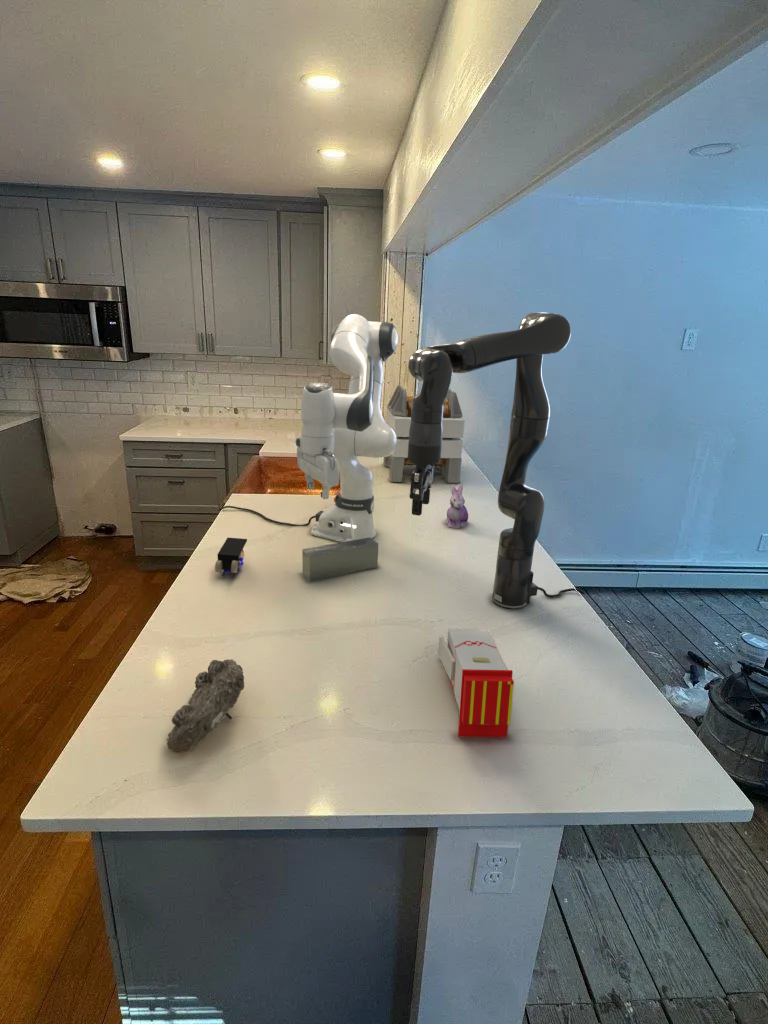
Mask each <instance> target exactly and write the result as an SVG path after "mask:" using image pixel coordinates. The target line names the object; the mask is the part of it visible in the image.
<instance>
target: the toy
mask: <svg viewBox="0 0 768 1024" xmlns="http://www.w3.org/2000/svg"><path fill="white" fill-rule="evenodd" d="M446 640H447V643H446V641H445V639H444V636H443V635H442V634H439V637H438V646H437V656H438V657H439V659H440V661H441V663H442V666H443V668H444V670H445V672H446V674H447V677H448V679H449V681H450V684H451V687H452V690H453V693H454V697H455V701H456V705H457V708H458V711H459V714H458V715H459V716H458V730H457V731H458V732H457V737H458V738H508V731H509V726H510V725H511V717H512V707H513V697H514V696H513V695H514V684H515V680H514V679H513V673H514V671H513V670H512V669H508V667H507V665H506V662H505V661H504V659H503V658H502V655H501V653H500V651H499V649H498V647H497V643H496V639H495V637H494V635H493V634H491V632H490V631H489V629H467V628H466V629H465V628H463V629H461V628H460V629H459V628H448V630H447V639H446Z"/></svg>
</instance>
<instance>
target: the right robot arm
mask: <svg viewBox="0 0 768 1024" xmlns="http://www.w3.org/2000/svg"><path fill="white" fill-rule="evenodd" d="M571 335H572V326H571V323H570V321H569V320H568V319H567V317H565V316H564V315H562V314H559V313H556V312H541V311H540V312H539V311H537V312H535V311H534V312H530V313H527V314H526V315H525V316H524V317H523V318H522V319H521V321H520V323H519V326H518V329H513V330H509V331H508V330H507V331H501V332H493V333H485V334H479V335H476V336H475V335H474V336H472V337H468V338H465V339H461V340H458V341H455V342H450V343H442V344H437V345H430V346H424V347H421V348H419V349H416V351H414V352H413V353H412V354H411V356H410V357H409V359H408V365H407V368H408V371H409V374H410V375H411V377H413V378H414V379H415V380H417V381H420V382H422V385H421V389H420V392H419V393H417V394H415V395H414V398H413V401H412V411H411V424H410V429H409V443H408V461H409V462H411V463H414V464H416V466H415V469H413V471H412V472H411V474H410V490H409V499H411V500H412V502H411V503H412V504H411V515H412V516H418V517H419V516H421V515H422V514H423V505H429V503H430V500H431V499H430V497H431V489H432V487H433V485H434V476H435V475H434V474H435V472H434V471H435V466H434V465H435V464H438V463H439V462H440V460H441V448H442V436H443V428H442V420H443V407H444V401H445V399H446V396H447V393H448V389H450V386H451V383H452V379H453V374H466V373H470V372H474V371H477V370H480V369H483V368H486V367H489V366H493V365H496V364H501V363H503V362H507V361H511V360H516V361H515V363H516V364H515V366H516V367H515V381H514V391H513V399H512V400H513V401H512V409H511V415H510V423H509V431H508V432H509V433H508V443H507V449H506V455H505V462H504V468H503V472H502V477H501V480H500V485H499V489H498V495H497V507H498V510H499V511H500V512H501V514H503V515H504V516H507V517H508V518H511V519H512V520H514V521H513V527H509V528H505V529H503V530H501V532H500V533H499V539H498V547H497V556H496V565H495V573H494V581H493V589H492V594H491V600H492V602H493V603H494V604H495V605H496V606H499V607H500V608H504V609H508V610H509V609H510V610H520V609H522V608H525V607H526V606H527V605H529V604H530V601H531V597H536V596H538V590H539V591H541V592H542V593H543V595H544V596H545V597H546V598H558V597H561V595H562V594H563V593H567V592H578V593H580V594H581V595H585V592H584V591H583V589H580V588H576V587H575V589H576V590H577V591H576V590H575V589H574V587H573V588H566V589H561V590H559V592H558V593H556V594H548V593H547V591H546V590H545V589H544V588H543V587H540V586H538V585H536V583H534V581H533V580H534V572H533V571H532V565H533V559H534V550H535V544H536V541H537V539H538V537H539V535H540V531H541V526H542V521H543V516H544V511H545V497H544V495H543V493H542V492H541V490H538V489H536V488H533V487H530V486H529V485H526V480H527V479H526V478H527V472H528V467H529V464H530V462H531V461H532V459H533V457H534V456H535V455H536V453H538V451H539V449H540V448H541V447H542V445H543V444H544V442H545V441H546V438H547V435H548V431H549V424H550V417H551V407H550V400H549V397H548V394H547V391H546V388H545V384H544V379H543V373H542V369H543V368H542V367H543V358H544V355H555V354H557V353H560V352H562V351H563V350H564V349H565V348H566V347H567V345H568V344H569V342H570V340H571ZM417 491H418V493H416V492H417Z"/></svg>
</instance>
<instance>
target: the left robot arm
mask: <svg viewBox="0 0 768 1024" xmlns="http://www.w3.org/2000/svg"><path fill="white" fill-rule="evenodd" d="M330 334H331V335H330V342H331V343H330V346H329V359H330V361H331V363H332V364H333V366H334V367H335V368H336V369H337V370H339V372H341V373H343V374H345V375H349V376H350V379H349V385H348V392H347V393H339V392H334V389H333V386H332V385H331V384H330V383H327V382H321V381H316V382H311V383H308V384H305V386H304V387H303V391H302V396H301V406H300V407H301V409H300V413H301V414H300V418H301V422H302V428H301V432H300V433H301V434H300V436H299V437H295V439H294V440H295V441H294V443H295V446H296V461H297V462H296V463H297V467H298V469H299V470H300V471H301V472H303V473H304V478H305V481H306V489H308V490H315V486H316V485H315V484H316V483H315V481H317V482H318V483H320V484H321V488H322V490H321V491H320V498H321V499H323V500H328V499H329V498H330V492H331V489H332V488H333V487H337V486H338V485H340V488H339V489H340V490H339V491H338V492H337V494H336V495H335V496H334V497H333V502H334V504H333V505H331V506H329V507H328V508H326V509H325V510H320V511H318V512H316V513H315V515H313V516H310V517H309V519H308V522H307V523H303V524H295V523H291V522H290V523H289V522H282V521H279V520H274V519H271V518H268V517H267V516H265V515H264V514H262V513H261V512H258V511H256V510H253V509H249V508H246V507H239V506H233V505H225V506H221V507H220V508H219V509H218V511H219V512H220V511H222V510H224V509H236V510H240V511H246V512H249V513H254V514H256V515H258V516H260V517H261V518H263V519H264V520H266V521H268V522H271V523H274V524H279V525H284V526H291V527H308V526H309V525H310V524H311V523H312V520H313V519H315V522H317V523H315V524H314V525H313V526H312V528H311V530H310V533H311V536H315V537H319V538H323V539H326V540H330V541H336V542H338V543H341V542H347V541H352V540H358V539H363V538H369V537H370V538H371V539H374V538H375V537H376V535H377V532H376V528H375V523H374V513H373V512H374V509H375V496H374V474H373V472H372V471H371V469H369V468H368V467H367V466H365V465H364V464H362V463H361V462H360V461H359V459H358V457H360V458H361V457H362V458H372V459H379V458H384V457H388V456H390V455H391V454H392V453H393V452H394V451H395V449H396V446H397V437H396V434H395V432H394V430H393V429H392V428H391V427H390V426H389V425H388V424H387V423H386V419H384V416H383V414H382V413H383V412H382V409H381V408H382V407H381V404H382V403H381V402H382V391H383V384H384V383H383V382H384V362H386V361H388V359H389V357H391V356H392V355H393V354H394V353H395V351H396V350H397V347H398V342H399V336H398V335H399V334H398V331H397V327H396V326H395V325H394V323H391V322H388V321H382V322H381V321H375V320H374V321H372V320H368V319H367V318H365V317H364V316H362V315H360V314H358V313H357V314H356V313H351V314H348V315H347V316H345V317H344V318H343V319H342V320H341V322H340V323H337V324H335V326H334V327H333V328H332V330H331V333H330ZM314 480H315V481H314ZM339 483H340V484H339Z"/></svg>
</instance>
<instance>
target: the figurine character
mask: <svg viewBox="0 0 768 1024" xmlns="http://www.w3.org/2000/svg"><path fill="white" fill-rule="evenodd" d="M247 542H248V538H240V537H226V539H225V541H224V543H223V544H222V546H221V547H220V549H219V551H218V552H217V560H216V562H215V564H214V572H215V573H221V577H222V578H224V577H225V576H226V574H227V573H230V574H231V573H232V574H231V578H234V577H235V575H236V573H237V572H239V571H240V567H242V566H243V565H244V564H245V562H244V558H245V551H244V547H245V546H246V544H247Z"/></svg>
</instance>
